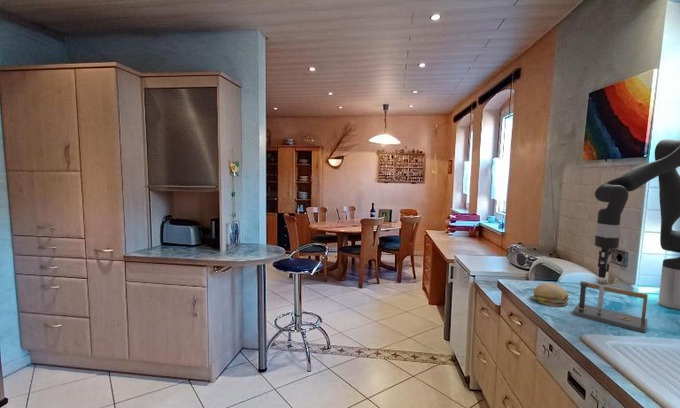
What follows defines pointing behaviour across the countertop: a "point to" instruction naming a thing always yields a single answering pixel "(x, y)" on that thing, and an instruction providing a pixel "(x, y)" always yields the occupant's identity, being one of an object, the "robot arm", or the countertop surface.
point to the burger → (550, 294)
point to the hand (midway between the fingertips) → (603, 275)
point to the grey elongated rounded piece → (601, 290)
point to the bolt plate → (612, 316)
